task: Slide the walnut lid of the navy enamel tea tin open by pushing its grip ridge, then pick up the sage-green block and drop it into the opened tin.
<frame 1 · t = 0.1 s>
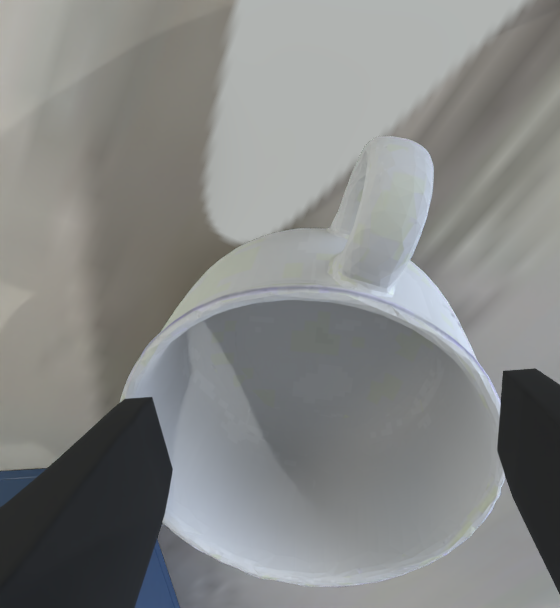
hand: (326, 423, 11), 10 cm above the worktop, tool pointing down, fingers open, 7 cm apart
tin: (71, 551, 28), on the worktop
teacup: (324, 293, 21), on the worktop
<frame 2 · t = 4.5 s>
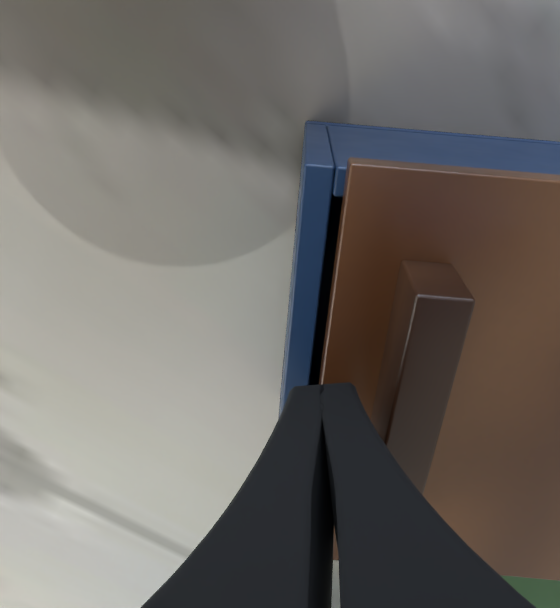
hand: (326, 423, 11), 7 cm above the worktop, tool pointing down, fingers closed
tin: (470, 292, 17), on the worktop
block: (496, 547, 23), on the worktop
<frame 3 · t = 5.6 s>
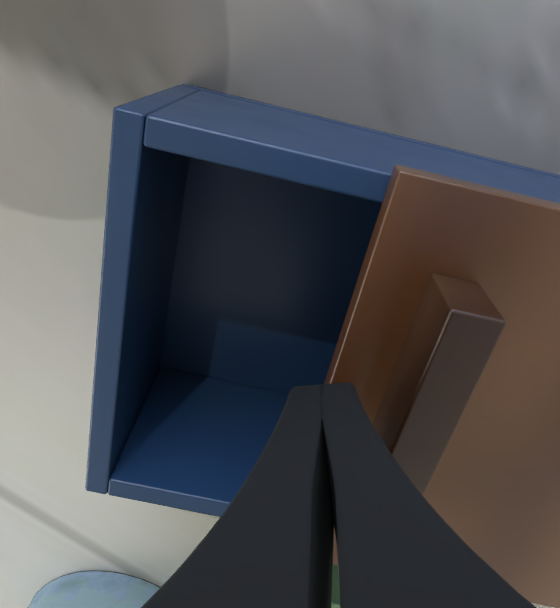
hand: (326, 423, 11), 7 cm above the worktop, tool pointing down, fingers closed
tin: (338, 283, 18), on the worktop
block: (353, 542, 23), on the worktop
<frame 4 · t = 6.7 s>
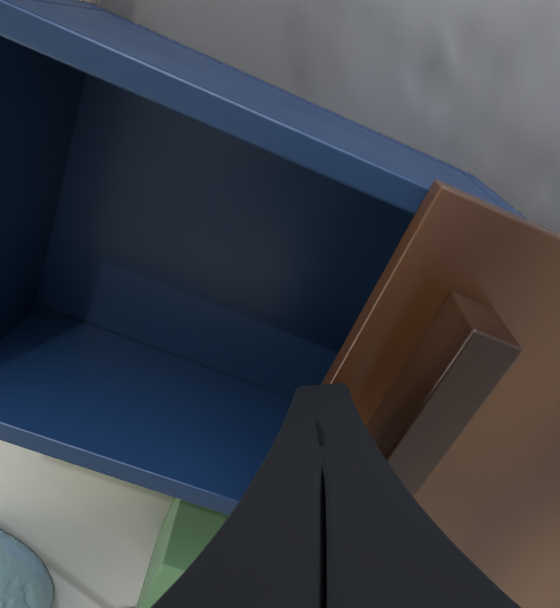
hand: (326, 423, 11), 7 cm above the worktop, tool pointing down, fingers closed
tin: (231, 244, 17), on the worktop
block: (223, 517, 23), on the worktop
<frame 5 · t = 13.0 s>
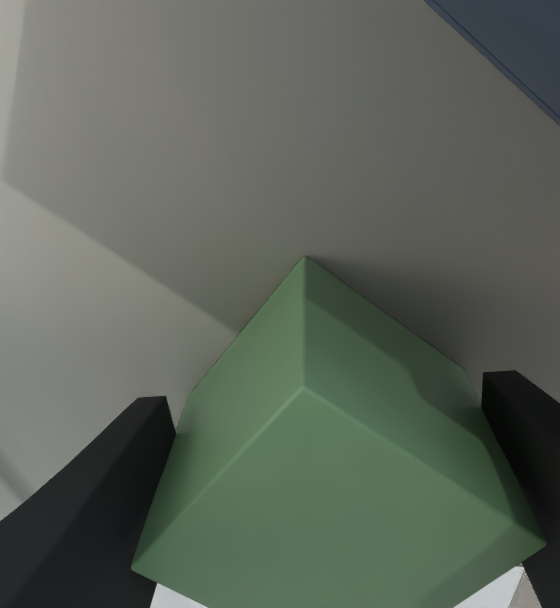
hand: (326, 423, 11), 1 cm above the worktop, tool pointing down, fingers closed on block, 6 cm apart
block: (322, 383, 12), on the worktop, touching gripper
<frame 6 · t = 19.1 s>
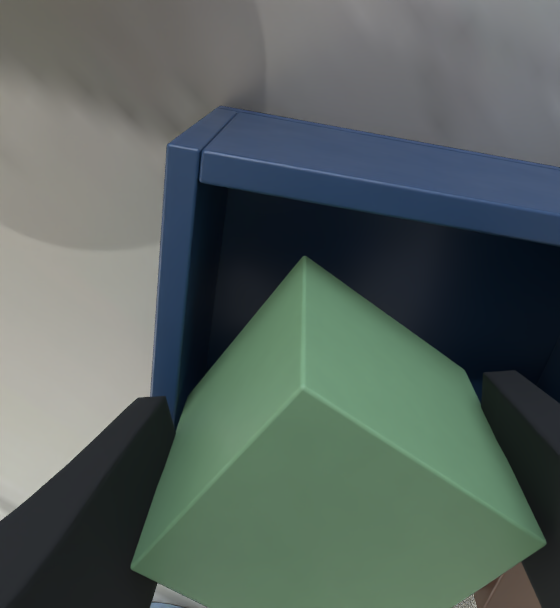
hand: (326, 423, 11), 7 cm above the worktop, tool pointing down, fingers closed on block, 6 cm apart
tin: (386, 302, 17), on the worktop
block: (322, 383, 12), point 5 cm above the worktop, touching gripper
when the fingers open (8 cm above the worktop, at t = 35.3 s): block drops 6 cm, resting on tin.
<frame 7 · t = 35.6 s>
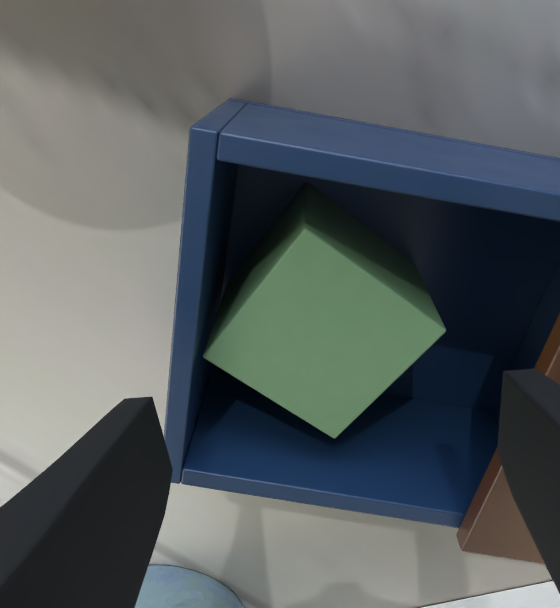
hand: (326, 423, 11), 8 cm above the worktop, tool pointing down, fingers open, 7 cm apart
tin: (380, 277, 18), on the worktop
block: (318, 274, 18), point 1 cm above the worktop, touching tin
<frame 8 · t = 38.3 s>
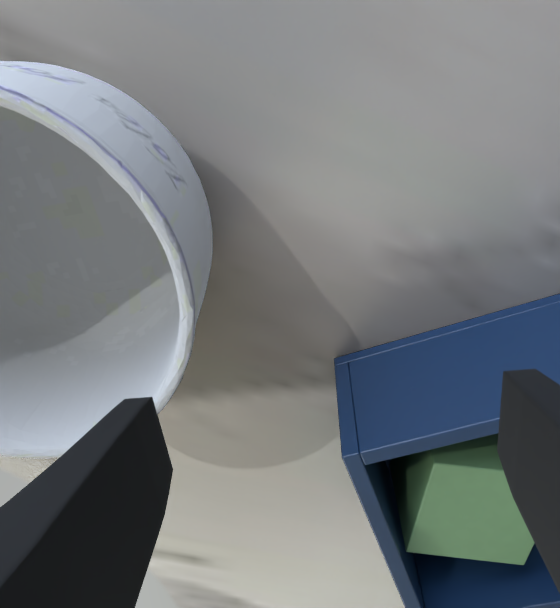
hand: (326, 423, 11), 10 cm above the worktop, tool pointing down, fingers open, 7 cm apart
tin: (497, 410, 23), on the worktop
teacup: (53, 203, 20), on the worktop
block: (451, 432, 23), point 1 cm above the worktop, touching tin
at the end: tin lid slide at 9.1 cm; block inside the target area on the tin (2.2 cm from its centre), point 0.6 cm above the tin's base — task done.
